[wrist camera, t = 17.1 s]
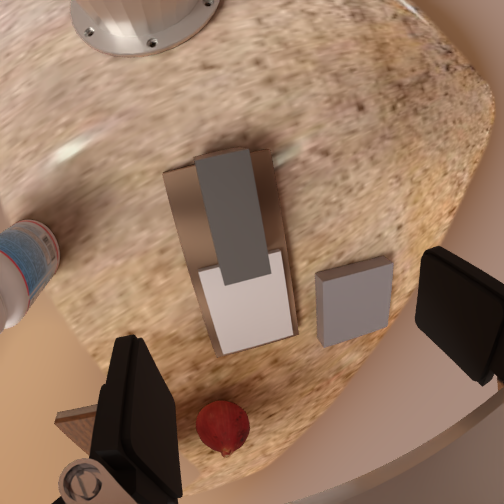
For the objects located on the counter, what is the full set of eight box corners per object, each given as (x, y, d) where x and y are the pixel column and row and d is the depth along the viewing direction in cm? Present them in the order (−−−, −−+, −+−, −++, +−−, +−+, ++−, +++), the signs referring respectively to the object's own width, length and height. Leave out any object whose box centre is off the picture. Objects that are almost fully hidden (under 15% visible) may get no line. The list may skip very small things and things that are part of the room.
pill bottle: (8, 213, 21) (-66, 260, 11) (63, 222, 23) (-1, 279, 13) (10, 274, 23) (-49, 340, 13) (62, 285, 25) (15, 362, 14)
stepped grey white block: (170, 162, 22) (167, 167, 19) (260, 142, 23) (275, 144, 19) (222, 350, 29) (228, 378, 26) (291, 331, 30) (305, 356, 26)
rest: (163, 172, 23) (162, 174, 22) (266, 148, 24) (270, 149, 23) (215, 350, 30) (216, 357, 29) (295, 328, 32) (298, 334, 30)
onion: (238, 381, 33) (254, 436, 25) (245, 411, 35) (260, 462, 28) (188, 390, 32) (194, 447, 25) (199, 420, 34) (207, 472, 27)
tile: (322, 282, 28) (393, 262, 29) (313, 271, 30) (381, 254, 31) (323, 347, 31) (387, 326, 32) (315, 335, 33) (377, 316, 34)
